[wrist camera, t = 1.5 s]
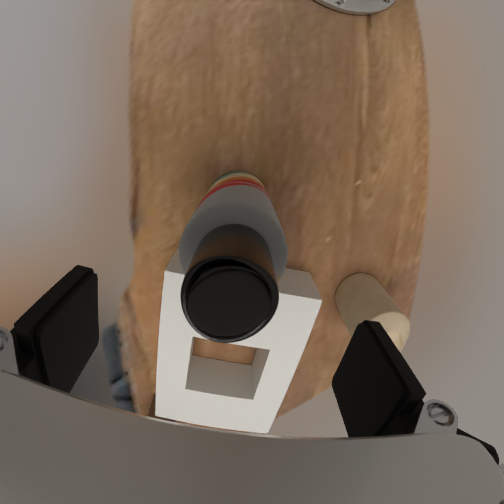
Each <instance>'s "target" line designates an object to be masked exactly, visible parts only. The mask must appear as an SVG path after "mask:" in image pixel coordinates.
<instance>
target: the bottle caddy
mask: <svg viewBox="0 0 504 504" xmlns="http://www.w3.org/2000/svg"><path fill="white" fill-rule="evenodd" d="M184 277H185V275H184V274H183V271H182V269H181V265H180V260H179V247H178V248H177V250H176V252H175V253H174V255H173V257H172V259H171V261H170V262H169V264H168V266H167V268H166V270H165V275H164V284H163V293H162V304H161V315H160V327H159V340H158V356H157V376H156V405H155V416H159V417H163V418H168V419H172V420H177V421H182V422H187V423H193V424H199V425H204V426H211V427H217V428H224V429H232V430H240V431H249V432H259V433H268V431H269V429H270V427H271V425H272V422H273V420H274V418H275V416H276V414H277V412H278V409H279V407H280V405H281V403H282V400H283V398H284V396H285V393H286V391H287V389H288V387H289V384H290V382H291V380H292V377H293V375H294V372H295V370H296V368H297V365H298V363H299V360H300V358H301V355H302V353H303V350H304V348H305V345H306V343H307V340H308V338H309V335H310V333H311V330H312V327H313V325H314V322H315V319H316V317H317V314H318V311H319V309H320V306H321V303H322V298H321V296H320V294H319V291H318V289H317V287H316V285H315V283H314V280H313V278H312V276H311V274H310V272H304V271H299V270H294V269H289V268H285V271H284V273H283V275H282V277H281V279H280V281H279V282H278V283H277V284H278V290H279V303H278V307H277V310H276V312H275V314H274V316H273V318H272V319H271V320H270V322H269V323H268V324H267V325H266V326H265V327H264V328H263V329H262V330H261V331H259V332H258V333H257V334H255V335H253V336H252V337H250V338H247V339H245V340H242V341H238V342H233V343H231V344H236V345H242V346H249V347H255V348H257V350H256V353H255V356H254V360H253V363H252V365H246V364H240V363H233V362H227V361H221V360H216V359H210V358H205V357H199V356H194V355H192V353H193V346H194V340H195V337H198V338H203V339H207V338H205V337H203V336H201V335H200V334H199V333H197V332H196V331H195V330H194V329H193V328H192V327H191V325H190V324H189V323H188V321H187V319H186V318H185V315H184V313H183V310H182V306H181V299H180V293H181V286H182V282H183V279H184ZM208 340H209V339H208Z"/></svg>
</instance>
